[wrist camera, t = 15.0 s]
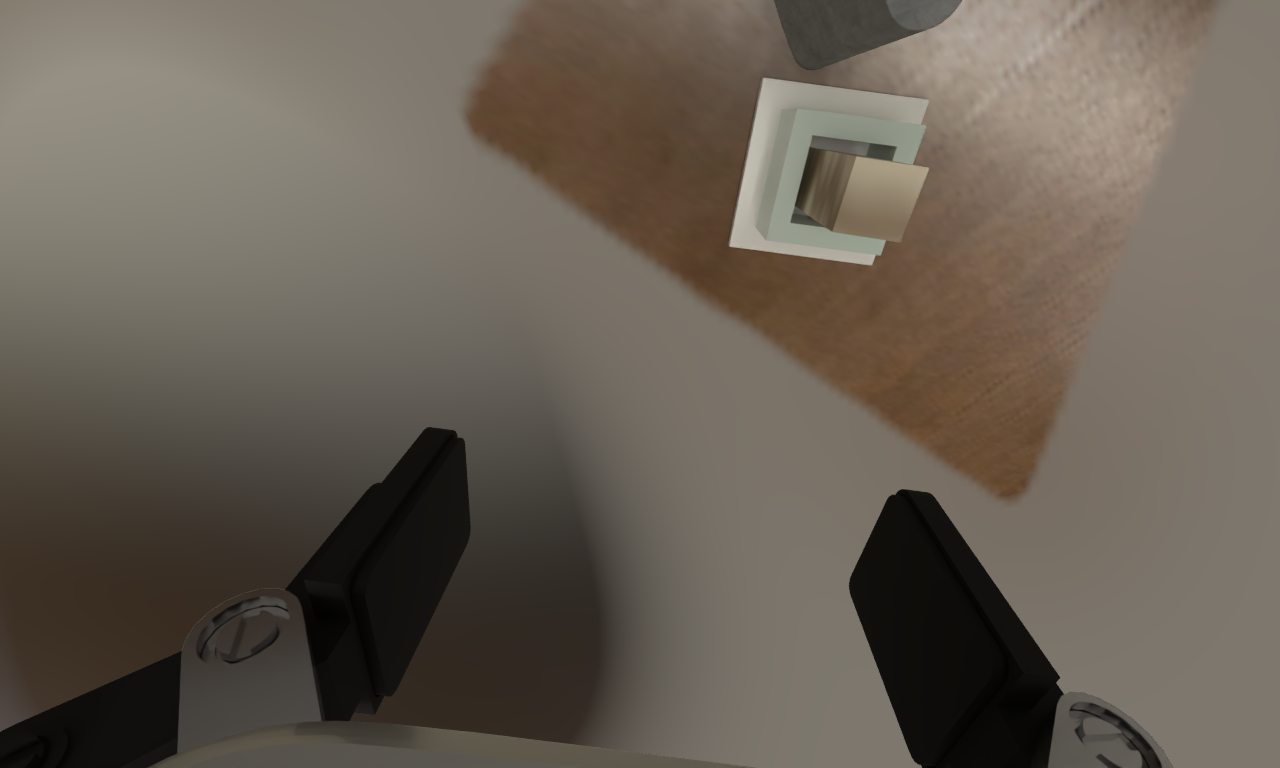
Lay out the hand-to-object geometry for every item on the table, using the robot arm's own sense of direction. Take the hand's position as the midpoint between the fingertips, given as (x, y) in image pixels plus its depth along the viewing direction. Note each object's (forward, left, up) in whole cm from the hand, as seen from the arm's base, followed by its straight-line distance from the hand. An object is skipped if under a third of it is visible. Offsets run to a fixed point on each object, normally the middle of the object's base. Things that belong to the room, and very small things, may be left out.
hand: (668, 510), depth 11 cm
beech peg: (-5, +11, -33) cm, 35 cm away
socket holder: (-5, +11, -34) cm, 36 cm away
